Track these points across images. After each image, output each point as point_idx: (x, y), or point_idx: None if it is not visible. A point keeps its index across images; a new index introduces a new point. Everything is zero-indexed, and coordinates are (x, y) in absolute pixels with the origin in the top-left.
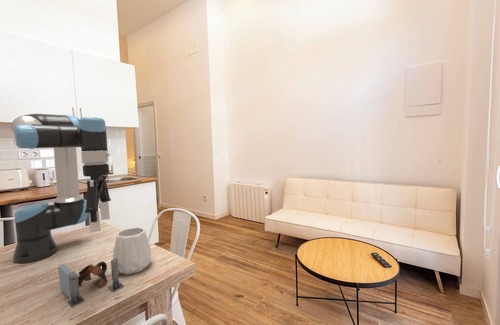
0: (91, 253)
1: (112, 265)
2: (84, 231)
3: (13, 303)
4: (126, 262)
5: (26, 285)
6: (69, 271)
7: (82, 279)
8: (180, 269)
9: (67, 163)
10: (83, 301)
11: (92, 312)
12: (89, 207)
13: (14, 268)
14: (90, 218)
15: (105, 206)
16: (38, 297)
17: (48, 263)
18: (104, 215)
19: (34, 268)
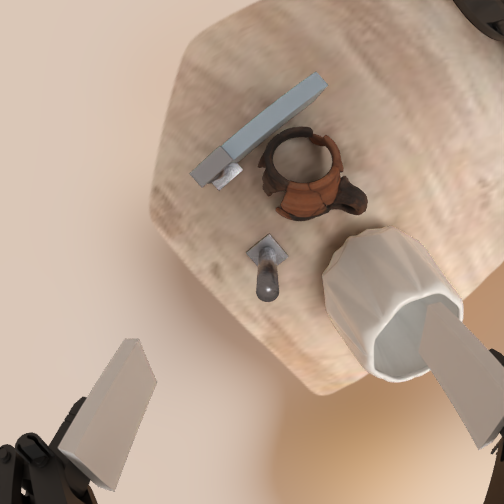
0: (484, 123)
1: (257, 282)
2: None
3: (256, 15)
4: (327, 290)
5: (341, 6)
6: (253, 134)
7: (266, 170)
8: (307, 381)
9: None
10: (217, 188)
11: (169, 230)
12: (37, 485)
13: None
14: (85, 413)
15: (471, 408)
16: (270, 56)
17: (446, 27)
18: (439, 346)
19: (424, 3)
